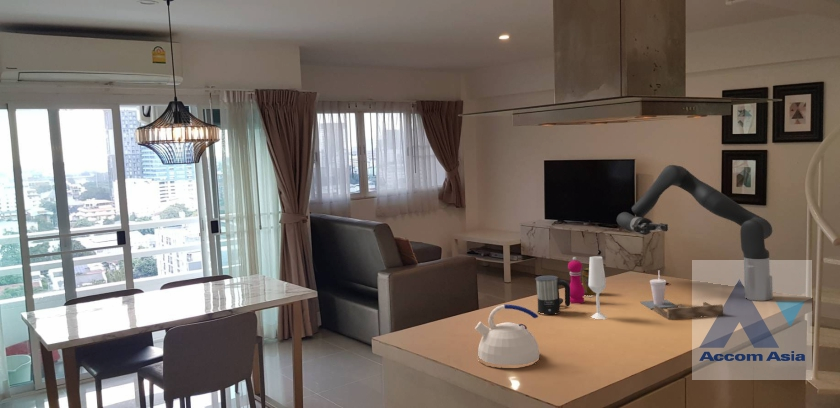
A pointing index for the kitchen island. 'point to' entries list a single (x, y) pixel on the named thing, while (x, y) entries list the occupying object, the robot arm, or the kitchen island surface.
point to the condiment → (585, 283)
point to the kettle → (507, 341)
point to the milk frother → (551, 294)
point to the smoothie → (658, 290)
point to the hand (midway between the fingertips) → (656, 229)
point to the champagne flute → (597, 281)
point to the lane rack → (690, 311)
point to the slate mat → (666, 305)
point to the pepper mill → (576, 282)
